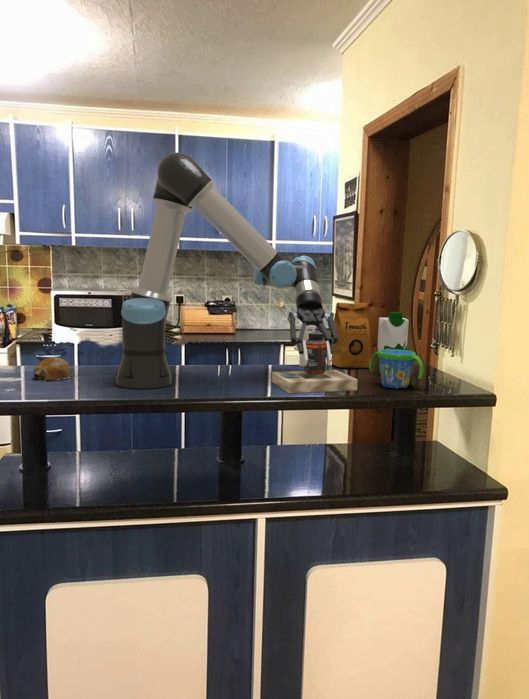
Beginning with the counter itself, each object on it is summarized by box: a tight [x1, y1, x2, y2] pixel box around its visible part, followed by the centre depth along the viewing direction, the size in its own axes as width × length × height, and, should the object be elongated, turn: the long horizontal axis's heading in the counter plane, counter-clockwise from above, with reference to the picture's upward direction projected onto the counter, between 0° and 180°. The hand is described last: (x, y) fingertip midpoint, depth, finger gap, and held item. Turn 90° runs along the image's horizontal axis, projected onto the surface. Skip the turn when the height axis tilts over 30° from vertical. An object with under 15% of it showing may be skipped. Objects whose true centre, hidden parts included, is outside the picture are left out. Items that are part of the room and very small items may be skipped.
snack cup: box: [368, 349, 424, 390], centre depth 163 cm, size 16×10×10 cm
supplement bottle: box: [304, 331, 327, 374], centre depth 161 cm, size 6×6×11 cm
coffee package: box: [331, 302, 372, 369], centre depth 193 cm, size 10×12×22 cm
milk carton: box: [376, 311, 410, 375], centre depth 181 cm, size 9×9×20 cm
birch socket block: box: [271, 369, 358, 394], centre depth 162 cm, size 20×15×3 cm
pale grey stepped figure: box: [293, 323, 316, 368], centre depth 194 cm, size 7×7×15 cm
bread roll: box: [33, 356, 72, 381], centre depth 165 cm, size 10×10×8 cm
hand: (317, 362), depth 158 cm, fingers closed on supplement bottle, 6 cm apart
